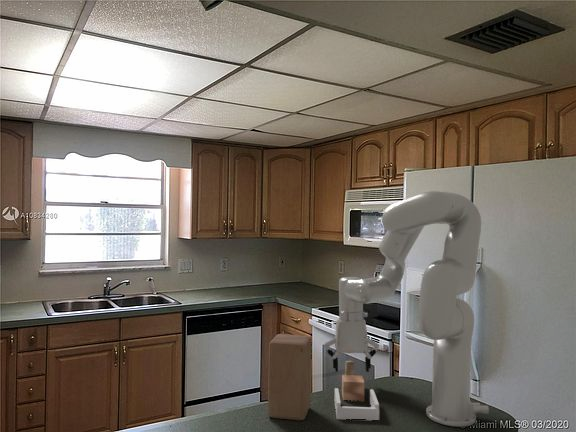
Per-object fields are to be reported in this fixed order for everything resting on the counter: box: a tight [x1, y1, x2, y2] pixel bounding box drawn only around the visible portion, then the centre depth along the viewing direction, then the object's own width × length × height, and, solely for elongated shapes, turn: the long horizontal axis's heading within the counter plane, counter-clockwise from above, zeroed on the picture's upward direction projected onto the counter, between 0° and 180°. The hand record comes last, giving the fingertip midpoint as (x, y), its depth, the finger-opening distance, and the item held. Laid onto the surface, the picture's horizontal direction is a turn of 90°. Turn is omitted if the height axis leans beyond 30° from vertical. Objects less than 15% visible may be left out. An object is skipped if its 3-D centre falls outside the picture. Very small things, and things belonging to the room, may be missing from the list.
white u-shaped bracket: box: [333, 387, 380, 421], centre depth 129 cm, size 11×12×4 cm
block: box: [341, 360, 365, 402], centre depth 144 cm, size 6×15×7 cm, turn 178°
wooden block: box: [267, 333, 312, 421], centre depth 127 cm, size 10×10×20 cm
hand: (351, 370), depth 150 cm, fingers open, 9 cm apart
